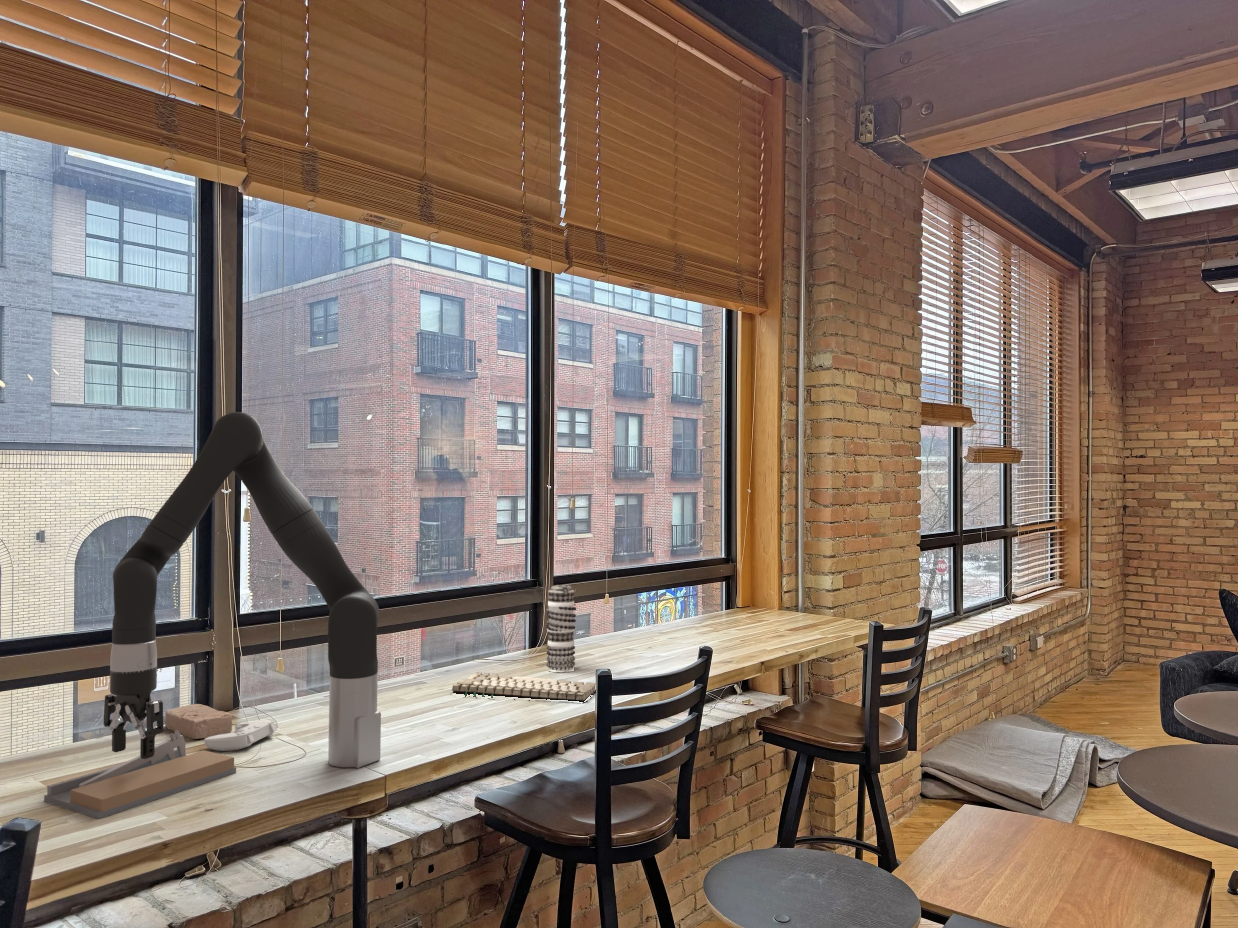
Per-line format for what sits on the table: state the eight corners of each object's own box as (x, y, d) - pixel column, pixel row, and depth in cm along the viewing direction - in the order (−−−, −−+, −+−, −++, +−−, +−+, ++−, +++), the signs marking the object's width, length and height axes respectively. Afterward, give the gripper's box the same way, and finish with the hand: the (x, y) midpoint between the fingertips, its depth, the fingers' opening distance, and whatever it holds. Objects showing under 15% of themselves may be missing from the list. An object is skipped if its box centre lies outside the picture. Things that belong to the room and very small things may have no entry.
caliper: (181, 760, 167) (182, 728, 167) (185, 761, 166) (186, 728, 167) (71, 794, 149) (71, 757, 149) (74, 795, 148) (75, 758, 148)
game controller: (241, 718, 190) (281, 711, 189) (244, 738, 190) (284, 731, 188) (197, 737, 176) (240, 729, 175) (201, 758, 176) (244, 750, 174)
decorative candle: (579, 667, 259) (580, 584, 260) (571, 673, 250) (571, 588, 251) (550, 665, 262) (551, 583, 262) (541, 672, 253) (542, 587, 253)
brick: (162, 728, 193) (162, 707, 193) (199, 720, 200) (200, 700, 200) (195, 743, 183) (196, 721, 183) (233, 734, 189) (234, 713, 189)
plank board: (236, 772, 163) (236, 756, 163) (98, 818, 140) (99, 800, 141) (182, 759, 171) (183, 744, 171) (44, 801, 148) (44, 783, 148)
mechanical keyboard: (602, 689, 234) (602, 677, 234) (585, 708, 215) (585, 694, 215) (472, 682, 242) (472, 670, 242) (444, 699, 223) (444, 686, 223)
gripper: (177, 665, 158) (176, 754, 158) (130, 658, 165) (129, 743, 164) (137, 673, 151) (136, 766, 151) (90, 665, 158) (89, 754, 158)
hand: (132, 754), depth 158 cm, fingers open, 8 cm apart
